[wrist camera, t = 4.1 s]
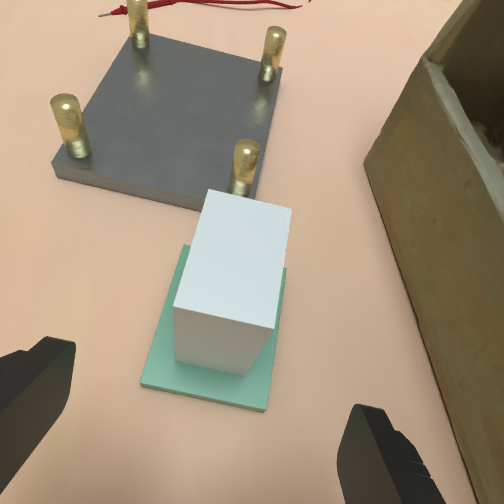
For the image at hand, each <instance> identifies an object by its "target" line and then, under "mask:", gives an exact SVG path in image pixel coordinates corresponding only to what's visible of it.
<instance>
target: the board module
mask: <svg viewBox="0 0 504 504" xmlns="http://www.w3.org/2000/svg"><path fill="white" fill-rule="evenodd" d="M291 212H292V209H290V208H286V207H282V206H278V205H274V204H270V203H265V202H261V201H257V200H253V199H249V198H245V197H240V196H236V195H232V194H228V193H224V192H220V191H216V190H211V189H208V192H207V196H206V199H205V202H204V206H203V209H202V212H201V215H200V219H199V222H198V225H197V229H196V232H195V235H194V238H193V242H192V245H191V246H189V245H185V244H184V245H183V248H182V251H181V254H180V258H179V261H178V264H177V267H176V270H175V273H174V276H173V280H172V283H171V286H170V289H169V292H168V295H167V298H166V302H165V305H164V308H163V311H162V314H161V317H160V320H159V324H158V327H157V330H156V333H155V336H154V339H153V342H152V346H151V349H150V352H149V355H148V358H147V361H146V365H145V368H144V371H143V374H142V377H141V380H140V384H141V386H143V387H148V388H152V389H157V390H162V391H166V392H171V393H176V394H180V395H185V396H190V397H194V398H199V399H204V400H208V401H213V402H218V403H222V404H227V405H232V406H236V407H241V408H246V409H250V410H255V411H260V412H264V411H266V410H267V403H268V396H269V389H270V382H271V375H272V368H273V361H274V354H275V347H276V340H277V333H278V326H279V319H280V312H281V305H282V298H283V291H284V284H285V277H286V270H287V268H283V266H284V259H285V253H286V246H287V239H288V233H289V226H290V219H291Z"/></svg>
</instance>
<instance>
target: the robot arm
mask: <svg viewBox="0 0 504 504" xmlns="http://www.w3.org/2000/svg"><path fill="white" fill-rule="evenodd" d="M75 352H76V344H75V342H72V341H67V340H63V339H58V338H53V337H49V336H46V337H44V338H43V339H42V340H40V341H39V342H38V343H37V344H36V345H35V346H33V347H32V348H31V349H30V350H29V351H23V350H18V351H16V352H13V353H11V354H8V355H6V356H3V357H1V358H0V494H1V493H2V492H3V490H4V489H5V488H6V486H7V485H8V484H9V482H10V481H11V480H12V478H13V477H14V476H15V474H16V473H17V472H18V470H19V469H20V468H21V466H22V465H23V464H24V462H25V461H26V460H27V458H28V457H29V456H30V454H31V453H32V452H33V451H34V449H35V448H36V447H37V445H38V444H39V443H40V441H41V440H42V439H43V437H44V436H45V435H46V433H47V432H48V431H49V429H50V428H51V427H52V425H53V424H54V423H55V421H56V420H57V419H58V417H59V416H60V415H61V413H62V411H63V409H64V407H65V405H66V403H67V400H68V397H69V393H70V387H71V380H72V373H73V366H74V359H75ZM337 472H338V476H339V480H340V484H341V488H342V491H343V495H344V499H345V503H346V504H446V502H445V501H444V499H443V497H442V495H441V493H440V492H439V490H438V488H437V486H436V484H435V483H434V481H433V479H431V478H430V476H431V475H430V474H429V472H428V470H427V468H426V466H425V465H423V461H422V459H421V457H420V456H419V454H418V452H417V450H416V448H415V447H414V445H413V444H412V443H411V442H410V441H409V440H408V439H407V438H406V437H405V436H404V435H403V434H402V433H401V432H400V431H396V430H394V428H393V426H392V424H391V422H390V420H389V418H388V417H387V415H386V413H385V411H384V410H383V409H380V408H375V407H371V406H366V405H362V404H355V405H354V406H353V408H352V411H351V413H350V416H349V419H348V422H347V425H346V428H345V431H344V434H343V437H342V440H341V443H340V446H339V449H338V454H337Z"/></svg>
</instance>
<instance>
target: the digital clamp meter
mask: <svg viewBox="0 0 504 504" xmlns="http://www.w3.org/2000/svg"><path fill="white" fill-rule="evenodd" d="M310 1H311V0H309V2H310ZM176 2H199V3H218V4H258V3H270V4H275V5H279V6H282V7H286V8H289V9H295V8H299V7H302V5H301V6H290V5H286V4H283V3H279V2H276V1H271V0H256V1H223V0H158V1H153V2H147V7H148V9H152V8H157V7H162V6H166V5H172V4H175V3H176ZM307 3H308V2H307ZM127 13H128V8H127V7H124V6H123V5H122V6H120V8H118V9H115V10H113V11H111V12H110V13H108V14H103V15H99V16H98V17H102V16H107V15H121V14H124V15H127Z"/></svg>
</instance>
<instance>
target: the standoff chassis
mask: <svg viewBox="0 0 504 504" xmlns="http://www.w3.org/2000/svg"><path fill="white" fill-rule="evenodd" d="M127 8H128V17H129V26H130V36H129V38H128V39H127V41H126V42H125V44H124V46H123V47H122V49H121V50H120V52H119V54H118V55H117V57H116V59H115V60H114V62H113V63H112V65H111V67H110V68H109V70H108V71H107V73H106V75H105V76H104V78H103V80H102V81H101V83H100V84H99V86H98V88H97V89H96V91H95V92H94V94H93V96H92V97H91V99H90V101H89V102H88V104H87V105H86V107H85V109H84V110H83V112H82V113H81V109H80V105H79V102H78V99H77V98H76V97H75V96H73V95H71V94H59V95H56V96H54V97H53V98H52V99H51V101H50V104H51V107H52V110H53V113H54V116H55V119H56V122H57V125H58V127H59V130H60V133H61V136H62V139H63V142H64V143H63V144H62V146H61V147H60V149H59V151H58V152H57V154H56V156H55V157H54V159H53V160H52V162H51V163H52V166H53V168H54V171H55V173H56V176H57V177H58V178H62V179H66V180H70V181H75V182H79V183H83V184H87V185H92V186H96V187H100V188H104V189H108V190H113V191H117V192H121V193H125V194H129V195H134V196H138V197H142V198H146V199H150V200H155V201H159V202H163V203H167V204H172V205H176V206H180V207H184V208H188V209H193V210H197V211H201V212H202V209H203V206H204V202H205V199H206V196H207V192H208V189H211V190H216V191H220V192H224V193H228V194H232V195H236V196H240V197H245V198H249V199H253V200H254V197H255V193H256V188H257V184H258V179H259V174H260V170H261V165H262V161H263V156H264V152H265V147H266V142H267V138H268V133H269V129H270V124H271V119H272V115H273V110H274V106H275V101H276V96H277V92H278V87H279V83H280V78H281V74H282V69H283V68H282V67H279V63H280V59H281V55H282V51H283V47H284V43H285V38H286V34H287V33H286V31H285V30H284V29H283V28H281V27H278V26H271V27H269V28H268V29H267V34H266V39H265V44H264V49H263V55H262V60H261V62H258V61H254V60H251V59H247V58H243V57H239V56H235V55H231V54H227V53H224V52H220V51H216V50H212V49H208V48H204V47H200V46H196V45H193V44H189V43H185V42H181V41H177V40H173V39H169V38H166V37H162V36H158V35H154V34H150V33H149V22H148V7H147V0H127Z"/></svg>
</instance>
